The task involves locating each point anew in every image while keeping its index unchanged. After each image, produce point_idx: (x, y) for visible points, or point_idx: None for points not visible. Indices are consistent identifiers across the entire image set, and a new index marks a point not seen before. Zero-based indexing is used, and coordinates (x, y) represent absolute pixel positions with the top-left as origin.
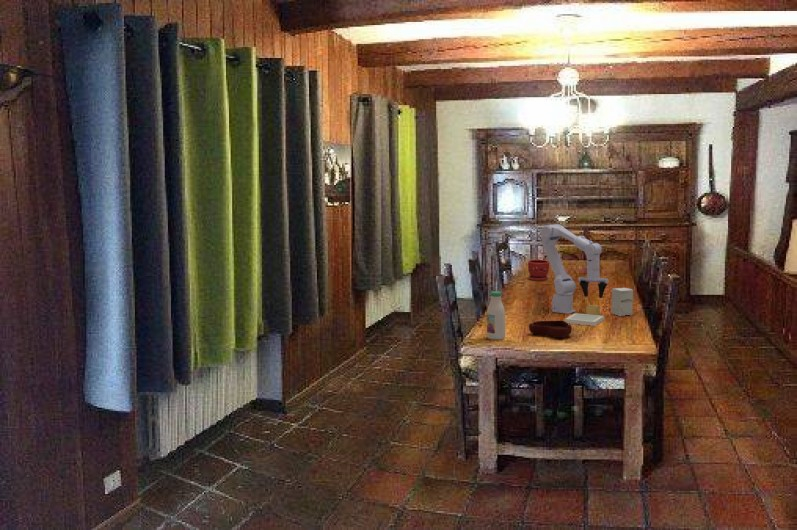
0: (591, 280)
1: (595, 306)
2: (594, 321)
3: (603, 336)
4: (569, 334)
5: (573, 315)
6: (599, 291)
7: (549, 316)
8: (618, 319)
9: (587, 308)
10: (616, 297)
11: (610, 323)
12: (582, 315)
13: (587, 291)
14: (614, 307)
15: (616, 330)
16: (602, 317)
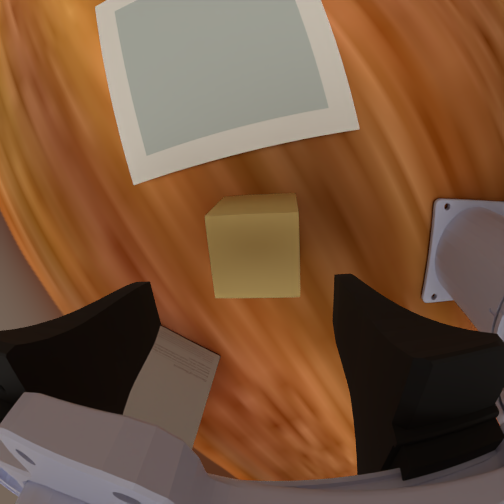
0: (22, 401)
1: (229, 258)
2: (101, 10)
3: None
4: None
5: (319, 48)
6: (95, 311)
7: (481, 76)
8: (107, 252)
9: (286, 208)
10: (134, 409)
11: (80, 131)
12: (260, 83)
13: (343, 360)
14: (179, 369)
15: (16, 45)
16: (124, 145)
